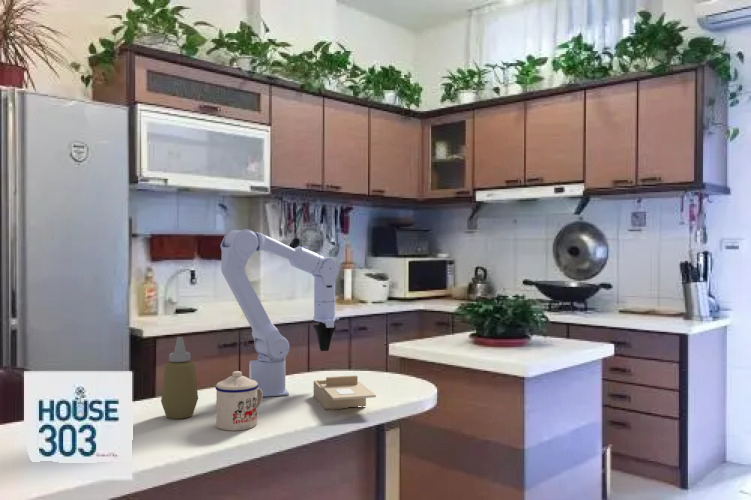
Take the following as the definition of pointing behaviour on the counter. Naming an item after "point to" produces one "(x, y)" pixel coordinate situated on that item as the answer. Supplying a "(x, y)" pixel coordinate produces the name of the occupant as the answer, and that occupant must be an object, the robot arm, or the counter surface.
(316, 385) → the box
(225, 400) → the teacup with lid
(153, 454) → the counter surface
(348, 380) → the lid
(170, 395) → the squeeze bottle
